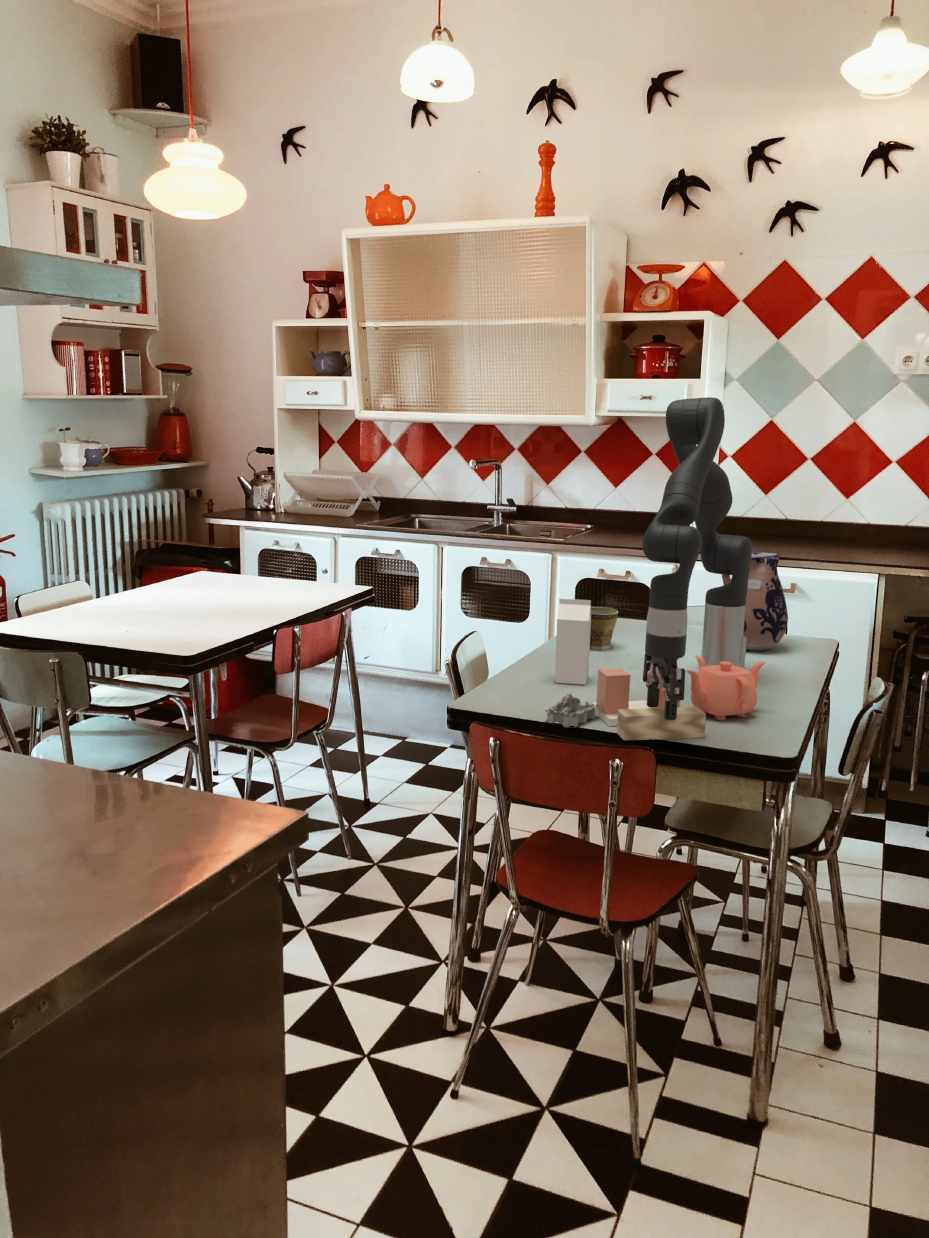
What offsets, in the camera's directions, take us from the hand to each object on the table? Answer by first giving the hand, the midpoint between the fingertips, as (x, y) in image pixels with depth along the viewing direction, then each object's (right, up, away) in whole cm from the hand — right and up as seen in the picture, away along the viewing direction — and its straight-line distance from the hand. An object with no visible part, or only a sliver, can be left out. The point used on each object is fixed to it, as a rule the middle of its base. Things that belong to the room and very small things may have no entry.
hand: (661, 713), depth 188 cm
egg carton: (-16, -3, +10) cm, 19 cm away
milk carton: (-13, +4, +38) cm, 41 cm away
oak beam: (0, -5, +1) cm, 5 cm away
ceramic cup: (-4, +11, +71) cm, 72 cm away
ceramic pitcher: (+38, +11, +75) cm, 84 cm away
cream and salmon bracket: (-2, -2, +13) cm, 13 cm away
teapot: (+15, -1, +17) cm, 23 cm away
